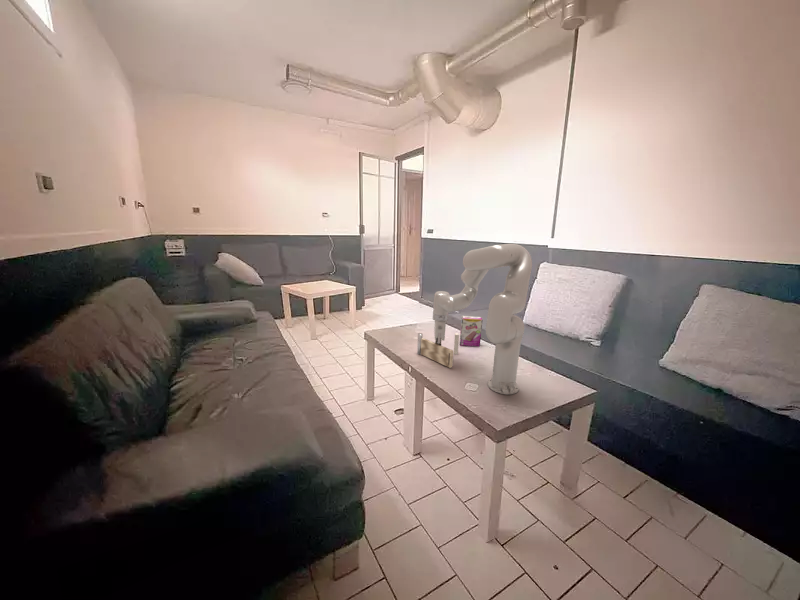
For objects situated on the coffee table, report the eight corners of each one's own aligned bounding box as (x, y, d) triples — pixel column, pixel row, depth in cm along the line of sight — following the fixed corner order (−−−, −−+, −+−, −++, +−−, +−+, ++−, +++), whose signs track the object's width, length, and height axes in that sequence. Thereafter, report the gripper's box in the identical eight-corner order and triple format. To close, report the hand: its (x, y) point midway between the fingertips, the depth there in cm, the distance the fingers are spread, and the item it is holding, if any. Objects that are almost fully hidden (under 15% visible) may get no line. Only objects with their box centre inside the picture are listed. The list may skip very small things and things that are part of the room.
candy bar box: (460, 346, 176) (462, 318, 172) (459, 342, 181) (461, 315, 177) (480, 347, 175) (482, 319, 171) (479, 343, 180) (481, 316, 176)
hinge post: (421, 354, 164) (422, 334, 161) (417, 354, 164) (417, 334, 162) (421, 352, 167) (422, 333, 164) (417, 352, 167) (417, 333, 164)
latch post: (457, 354, 165) (459, 334, 162) (453, 354, 165) (455, 334, 163) (457, 352, 167) (458, 333, 164) (453, 352, 167) (454, 333, 164)
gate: (420, 354, 164) (421, 338, 162) (422, 353, 165) (423, 338, 163) (450, 368, 149) (451, 351, 147) (452, 367, 150) (453, 350, 148)
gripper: (448, 322, 147) (445, 357, 152) (447, 312, 161) (444, 345, 167) (432, 321, 148) (430, 356, 153) (432, 311, 162) (430, 343, 167)
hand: (437, 350), depth 160 cm, fingers closed
